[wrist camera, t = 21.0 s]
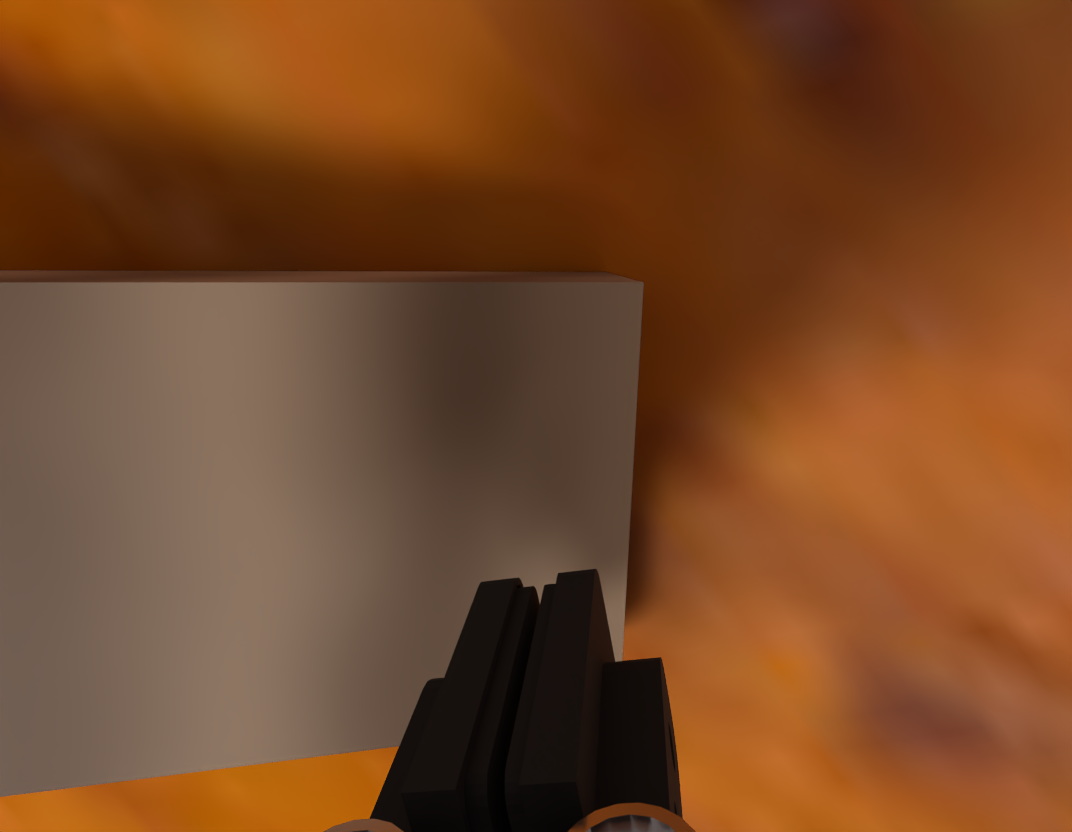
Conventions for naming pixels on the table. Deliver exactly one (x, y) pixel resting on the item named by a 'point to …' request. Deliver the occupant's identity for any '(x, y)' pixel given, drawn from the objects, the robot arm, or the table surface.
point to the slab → (286, 499)
